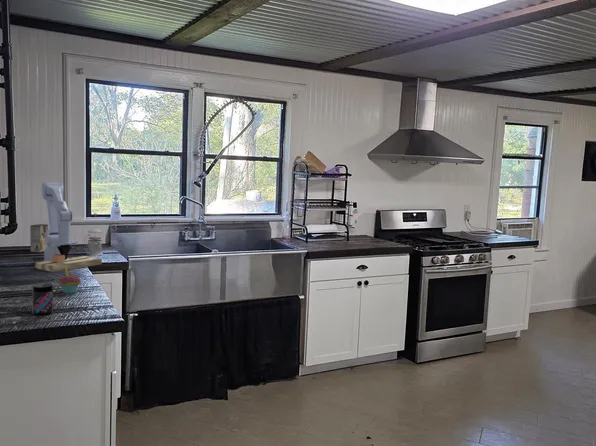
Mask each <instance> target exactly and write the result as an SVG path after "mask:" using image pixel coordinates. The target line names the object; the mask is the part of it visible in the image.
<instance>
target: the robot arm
mask: <svg viewBox="0 0 596 446" xmlns="http://www.w3.org/2000/svg"><path fill="white" fill-rule="evenodd" d="M63 192H64V184H63V183H62V182H61V181H60V182H49V181H48V182H46V181H43V183H42V184H41V195H42V198H43V199H44V200H46V201H45V202H46V207H47V215H48V222H49V224H48V226H49V228H48V231H46V233H45V244H46V245H47V247H46V248H45V250H44V251H43V261H50V260H52V255H55V254H61V255H65V260H66V259H67V258H68V256H69V255H68V254H69V252H70V251H71V249H72V246H74V245H75V246H76V245H78V240H71V222H72V221H73V213H72V210H70V209H69V208H68V205H67V202H66V201H65V200H63ZM65 244H66V245H65Z"/></svg>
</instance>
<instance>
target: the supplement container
mask: <svg viewBox="0 0 596 446" xmlns="http://www.w3.org/2000/svg"><path fill="white" fill-rule="evenodd" d="M31 289H32V311H31V312H32V314H33V315H34V316H37V317H39V316H40V317H42V316H49V315H52V314H53V311H54V284H53V283H47V282H46V283H45V282H41V283H35V284H33V285H32V288H31Z"/></svg>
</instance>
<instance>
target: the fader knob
mask: <svg viewBox="0 0 596 446" xmlns="http://www.w3.org/2000/svg"><path fill="white" fill-rule="evenodd" d="M52 262H57V263H60V262H65V255H61V254H55V255H52Z"/></svg>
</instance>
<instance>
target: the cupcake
mask: <svg viewBox="0 0 596 446" xmlns="http://www.w3.org/2000/svg"><path fill="white" fill-rule="evenodd" d="M64 271H65V275H64V276H62V277H60V278H59V280H58V284H59V286H61V288H62V292H63V293H64V294H74V293H77V290H78V289H77V288H78V286H79V285H80V284H81V283H82V282H81V279H80V277H78V276H77V275H69V273H68V270H67V266H66V265H65V270H64Z"/></svg>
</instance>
